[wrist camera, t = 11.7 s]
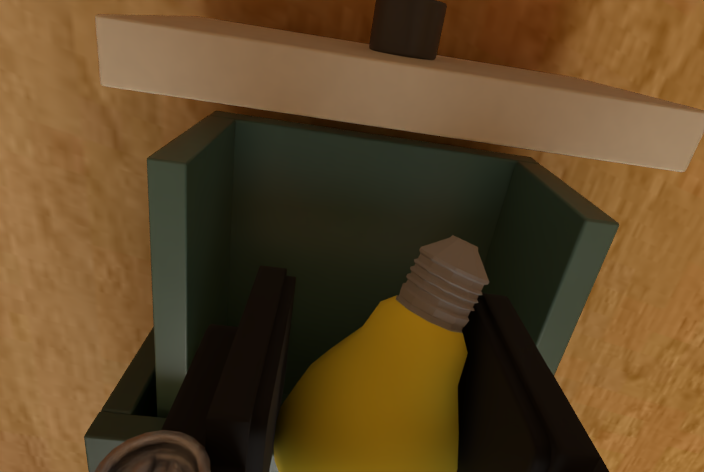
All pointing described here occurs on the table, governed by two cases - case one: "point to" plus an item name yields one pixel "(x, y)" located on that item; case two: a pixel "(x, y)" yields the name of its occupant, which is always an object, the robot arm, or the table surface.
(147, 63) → the drawer
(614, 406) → the table surface
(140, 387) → the cabinet
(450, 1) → the table surface
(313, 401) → the light bulb
